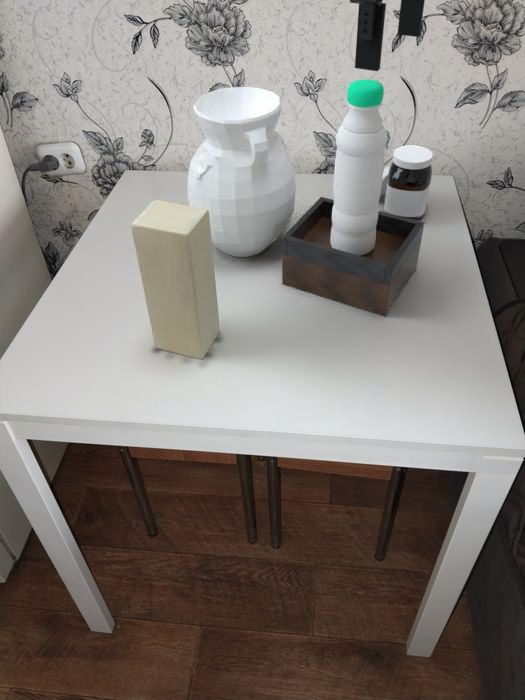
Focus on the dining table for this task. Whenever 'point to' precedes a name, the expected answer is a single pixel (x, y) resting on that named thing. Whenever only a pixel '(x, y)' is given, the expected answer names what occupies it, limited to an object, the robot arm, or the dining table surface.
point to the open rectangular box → (351, 260)
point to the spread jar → (407, 182)
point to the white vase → (242, 170)
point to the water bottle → (358, 170)
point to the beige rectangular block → (178, 276)
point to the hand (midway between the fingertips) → (389, 51)
